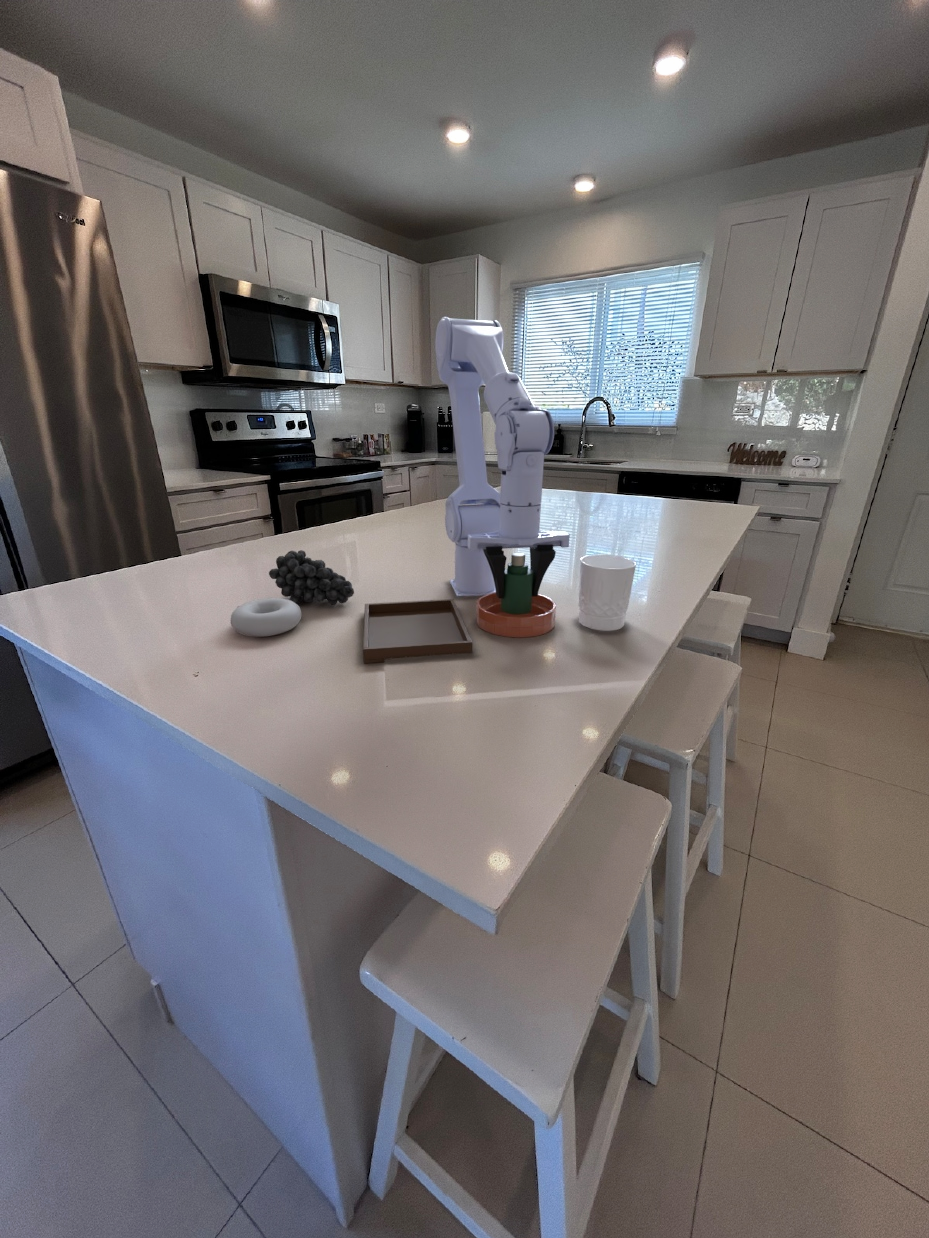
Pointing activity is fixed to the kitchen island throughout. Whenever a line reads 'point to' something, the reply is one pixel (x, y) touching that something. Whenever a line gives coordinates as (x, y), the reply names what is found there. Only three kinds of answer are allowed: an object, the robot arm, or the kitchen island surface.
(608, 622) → the white cup
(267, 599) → the donut
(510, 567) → the bottle
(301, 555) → the fruit
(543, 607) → the bowl
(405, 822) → the kitchen island surface
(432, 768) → the kitchen island surface
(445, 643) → the tray
